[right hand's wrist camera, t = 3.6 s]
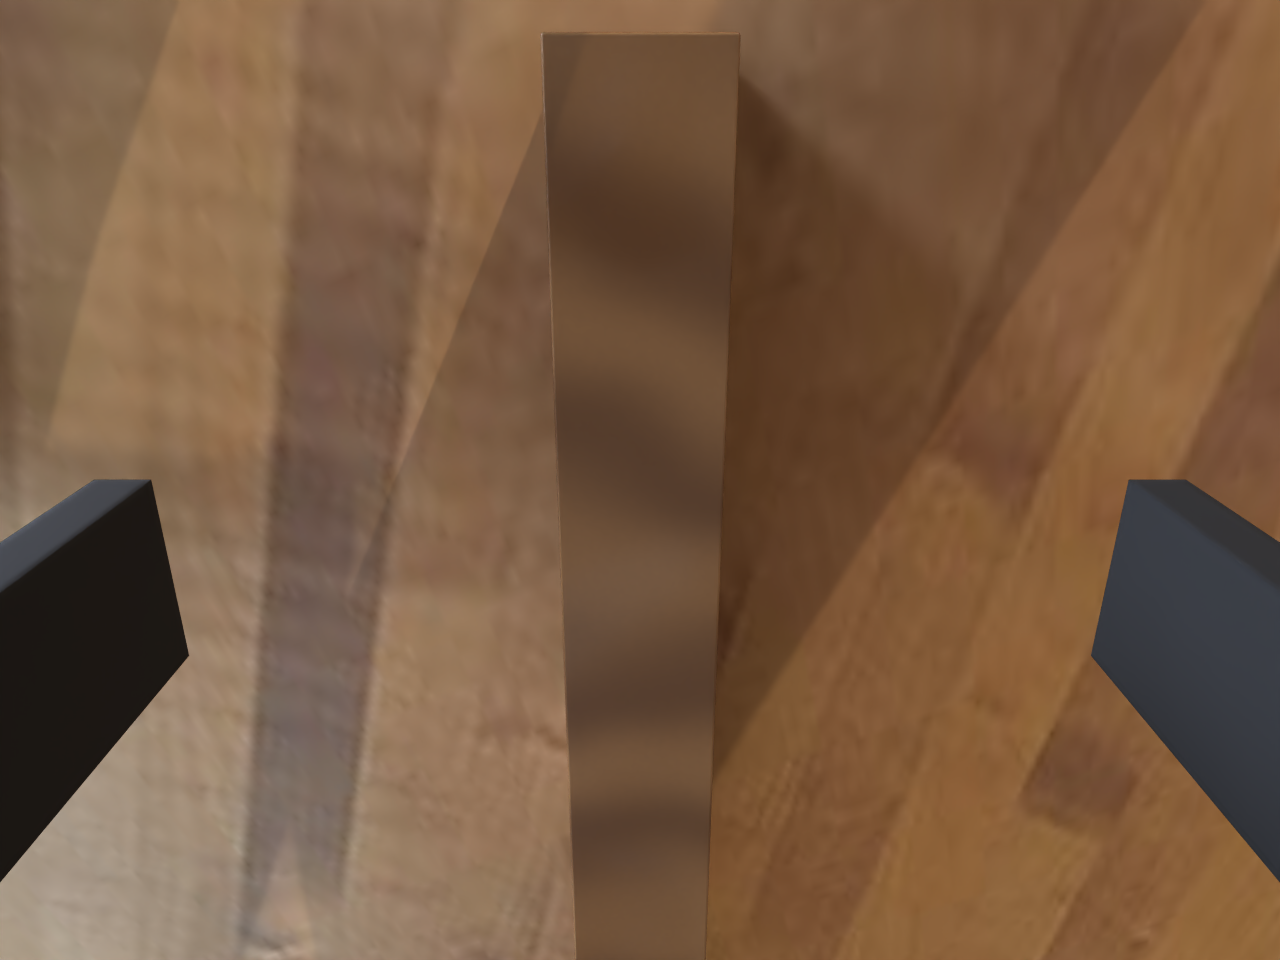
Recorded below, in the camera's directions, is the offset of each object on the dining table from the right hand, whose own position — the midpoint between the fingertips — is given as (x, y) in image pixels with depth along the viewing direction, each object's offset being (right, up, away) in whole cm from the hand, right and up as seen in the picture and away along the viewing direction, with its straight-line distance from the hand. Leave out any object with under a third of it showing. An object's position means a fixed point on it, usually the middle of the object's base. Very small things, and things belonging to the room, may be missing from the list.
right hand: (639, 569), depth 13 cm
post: (0, -16, +30) cm, 34 cm away
